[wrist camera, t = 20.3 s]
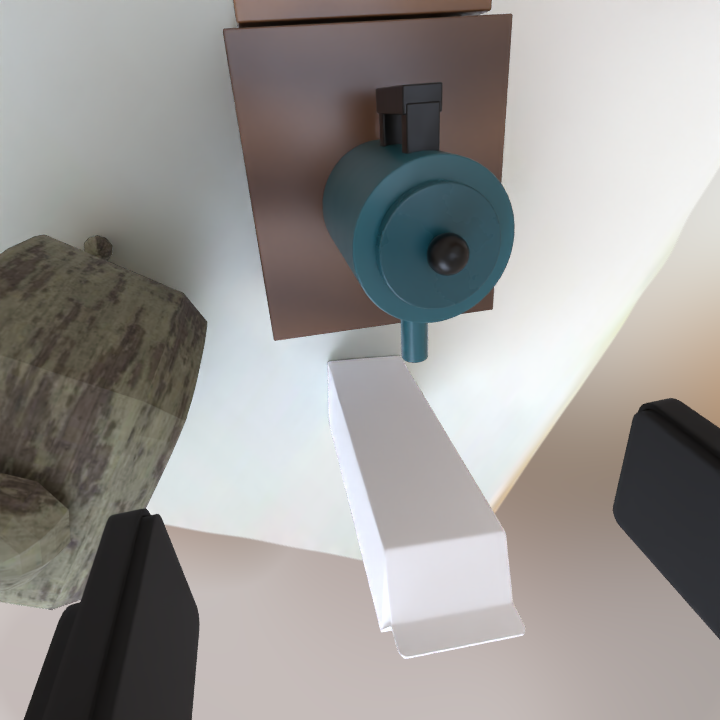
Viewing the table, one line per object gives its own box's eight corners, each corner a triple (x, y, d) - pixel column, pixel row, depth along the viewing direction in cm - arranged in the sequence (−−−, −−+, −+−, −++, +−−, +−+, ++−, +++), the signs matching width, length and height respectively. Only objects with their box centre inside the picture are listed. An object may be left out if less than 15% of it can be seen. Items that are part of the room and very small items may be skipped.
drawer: (221, -75, 25) (211, -143, 18) (435, -80, 26) (499, -144, 20) (271, 251, 33) (277, 289, 26) (434, 232, 34) (479, 263, 28)
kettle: (310, 94, 21) (351, 85, 13) (441, 84, 22) (562, 71, 14) (333, 322, 27) (373, 426, 18) (438, 307, 27) (525, 399, 19)
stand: (230, 51, 28) (222, 28, 20) (439, 39, 30) (513, 13, 22) (268, 284, 35) (274, 341, 26) (437, 263, 37) (493, 309, 28)
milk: (326, 360, 39) (401, 611, 19) (400, 354, 40) (542, 586, 20) (328, 424, 41) (395, 699, 22) (397, 417, 42) (519, 673, 23)
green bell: (81, 204, 30) (-349, 460, 8) (222, 268, 34) (173, 566, 12) (18, 390, 35) (-369, 869, 13) (148, 430, 38) (14, 860, 16)
